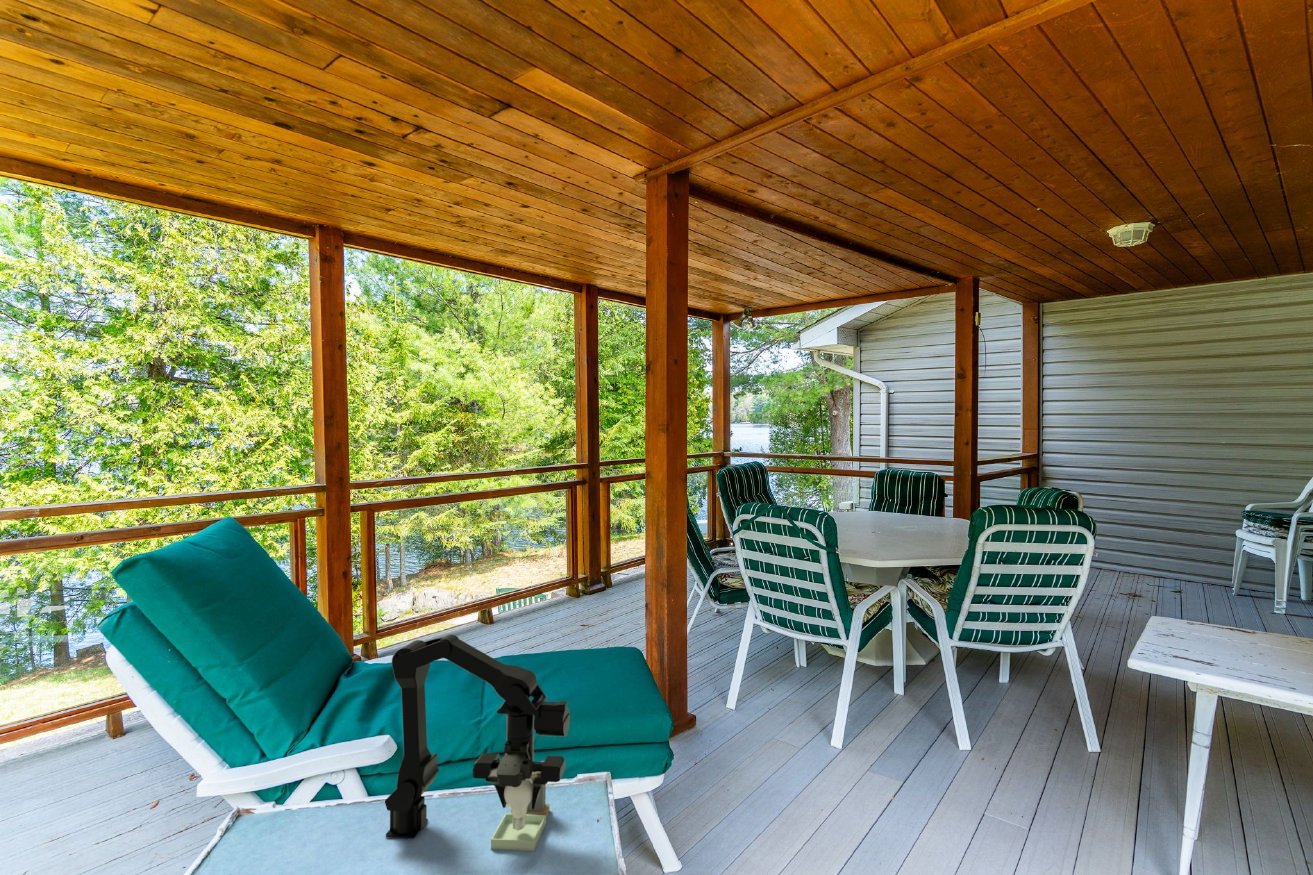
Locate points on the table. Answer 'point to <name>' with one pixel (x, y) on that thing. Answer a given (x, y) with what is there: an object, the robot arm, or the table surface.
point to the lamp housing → (539, 802)
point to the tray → (518, 833)
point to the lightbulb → (519, 801)
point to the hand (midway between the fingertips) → (519, 807)
